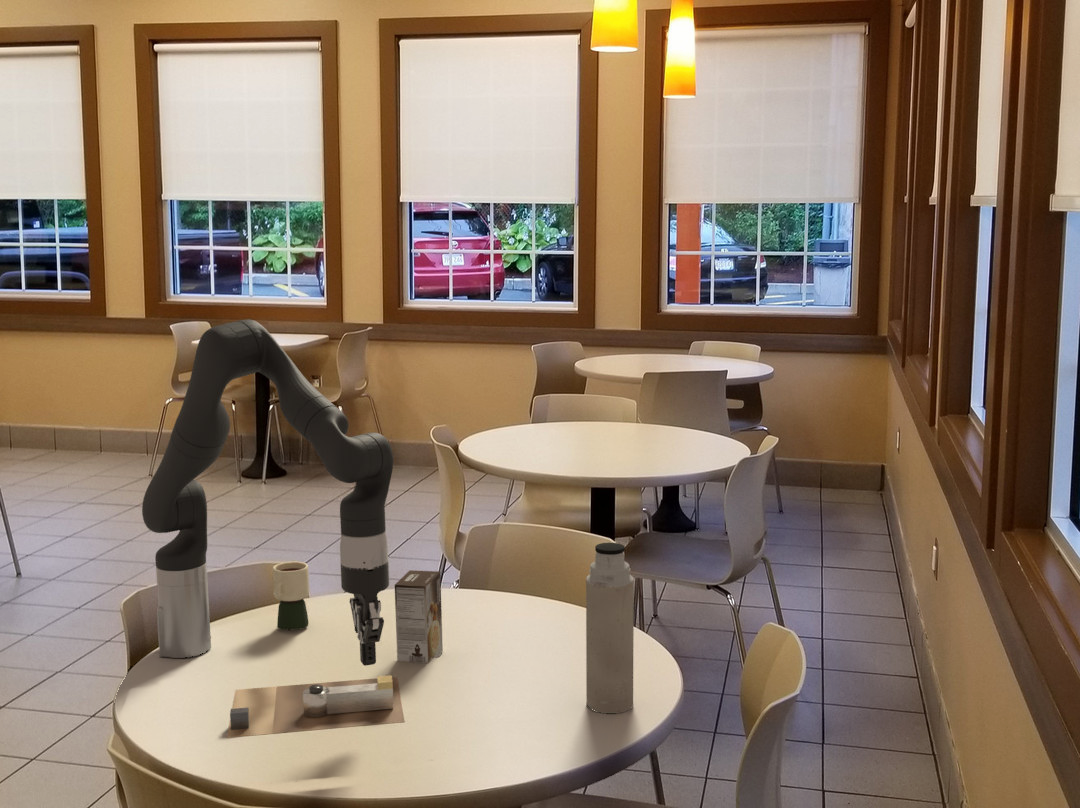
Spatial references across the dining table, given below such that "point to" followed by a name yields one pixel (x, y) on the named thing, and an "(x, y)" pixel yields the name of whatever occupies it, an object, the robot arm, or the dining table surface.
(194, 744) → the dining table surface
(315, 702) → the latch bar
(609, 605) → the thermos bottle
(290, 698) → the door board
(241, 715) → the block
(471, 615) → the dining table surface
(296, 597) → the character mug
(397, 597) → the coffee box
